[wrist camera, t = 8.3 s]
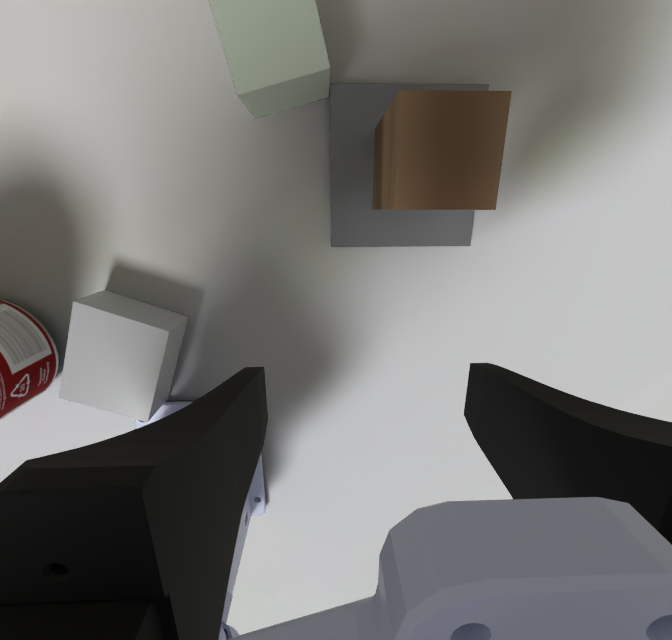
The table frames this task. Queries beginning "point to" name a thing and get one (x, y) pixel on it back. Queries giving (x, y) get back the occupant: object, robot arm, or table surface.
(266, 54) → the sage block
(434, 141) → the walnut block
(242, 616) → the table surface
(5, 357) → the soda can
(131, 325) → the grey plastic box
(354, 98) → the slate coaster
